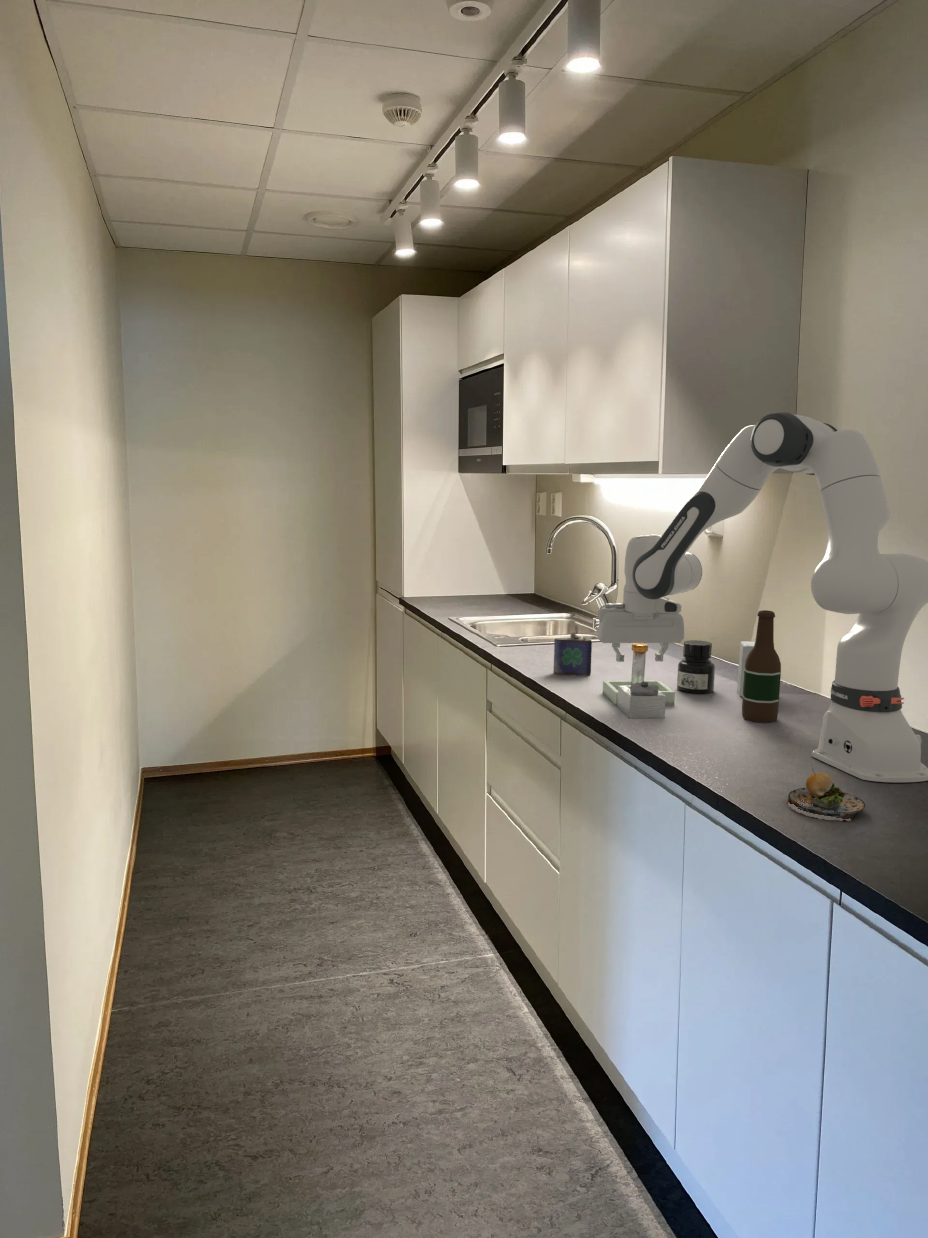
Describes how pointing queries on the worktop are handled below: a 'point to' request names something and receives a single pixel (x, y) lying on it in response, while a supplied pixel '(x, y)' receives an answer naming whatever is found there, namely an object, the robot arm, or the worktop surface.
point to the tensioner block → (641, 701)
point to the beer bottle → (762, 674)
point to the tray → (612, 686)
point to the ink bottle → (696, 668)
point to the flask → (572, 655)
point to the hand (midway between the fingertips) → (639, 661)
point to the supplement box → (743, 663)
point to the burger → (825, 798)
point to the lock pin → (638, 662)
